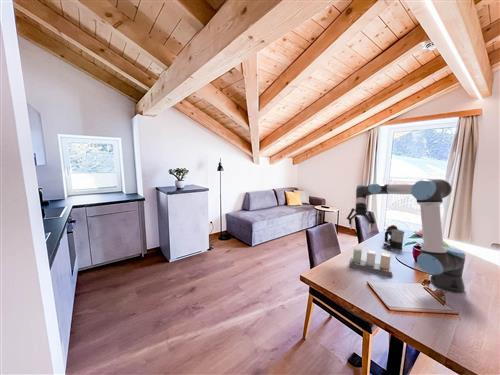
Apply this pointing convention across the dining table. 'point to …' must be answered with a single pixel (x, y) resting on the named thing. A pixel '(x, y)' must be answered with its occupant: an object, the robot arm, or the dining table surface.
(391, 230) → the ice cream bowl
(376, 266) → the grey tray
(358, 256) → the key sage
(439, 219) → the robot arm
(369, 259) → the cream upright block
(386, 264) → the beige tall block
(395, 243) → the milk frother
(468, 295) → the dining table surface
